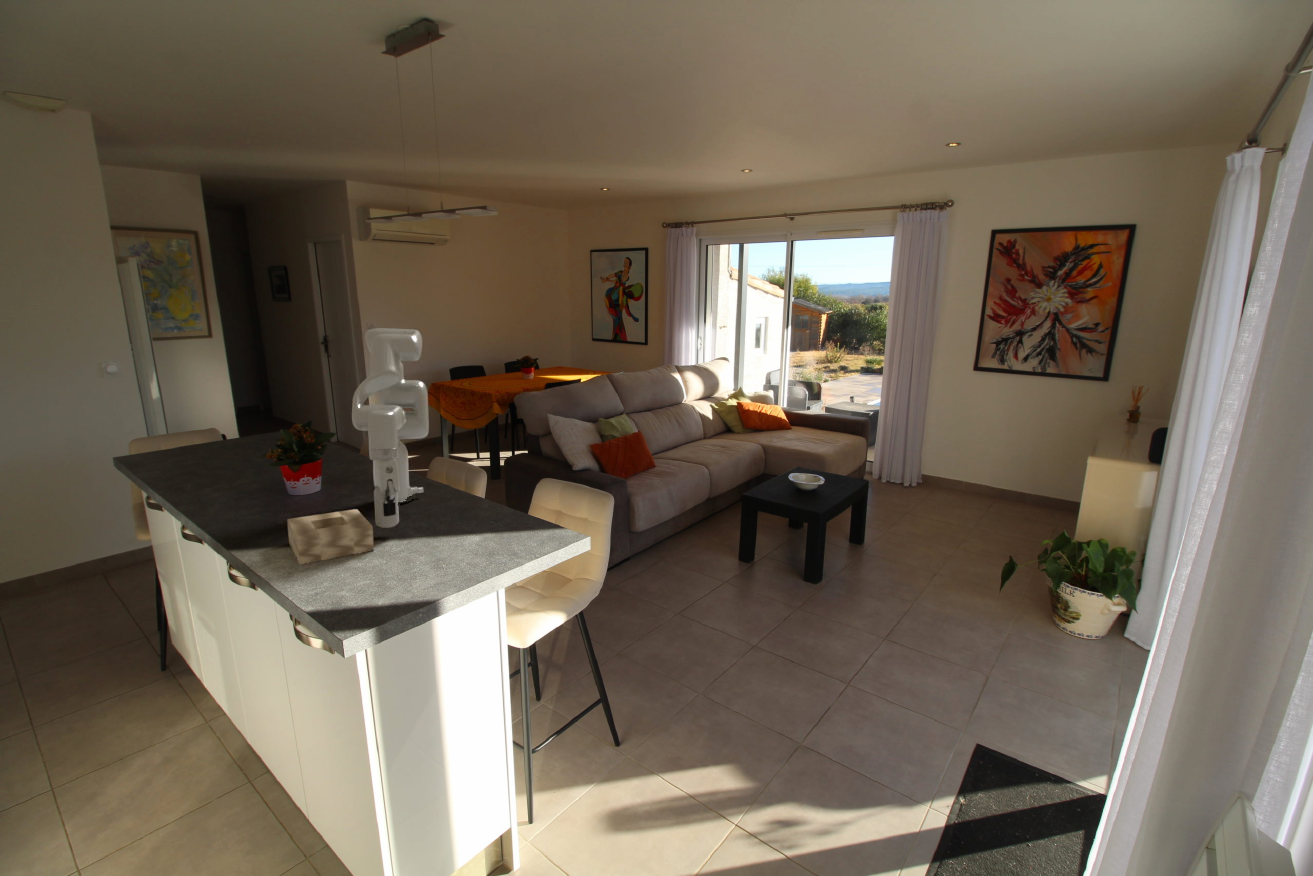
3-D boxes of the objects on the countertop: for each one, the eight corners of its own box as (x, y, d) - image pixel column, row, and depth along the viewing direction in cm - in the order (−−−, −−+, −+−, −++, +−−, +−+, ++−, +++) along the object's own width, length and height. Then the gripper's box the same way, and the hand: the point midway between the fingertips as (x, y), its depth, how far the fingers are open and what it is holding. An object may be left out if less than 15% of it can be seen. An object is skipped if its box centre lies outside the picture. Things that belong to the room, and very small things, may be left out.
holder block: (358, 531, 183) (356, 509, 181) (373, 550, 169) (372, 526, 168) (289, 543, 172) (287, 519, 170) (299, 564, 158) (297, 538, 157)
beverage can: (384, 530, 175) (382, 490, 173) (370, 525, 179) (368, 486, 176) (403, 524, 181) (402, 485, 178) (390, 519, 184) (388, 481, 181)
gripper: (406, 458, 171) (408, 518, 175) (389, 445, 184) (391, 501, 188) (377, 461, 166) (381, 523, 170) (362, 447, 179) (365, 505, 183)
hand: (386, 511), depth 179 cm, fingers closed on beverage can, 5 cm apart
